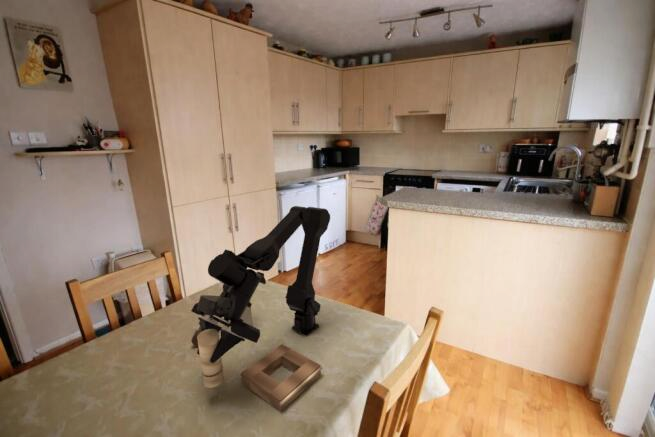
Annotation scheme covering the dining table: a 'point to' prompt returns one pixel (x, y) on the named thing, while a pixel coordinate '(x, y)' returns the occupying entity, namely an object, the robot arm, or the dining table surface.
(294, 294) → the robot arm
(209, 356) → the peg
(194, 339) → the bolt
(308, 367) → the socket board
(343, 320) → the dining table surface
